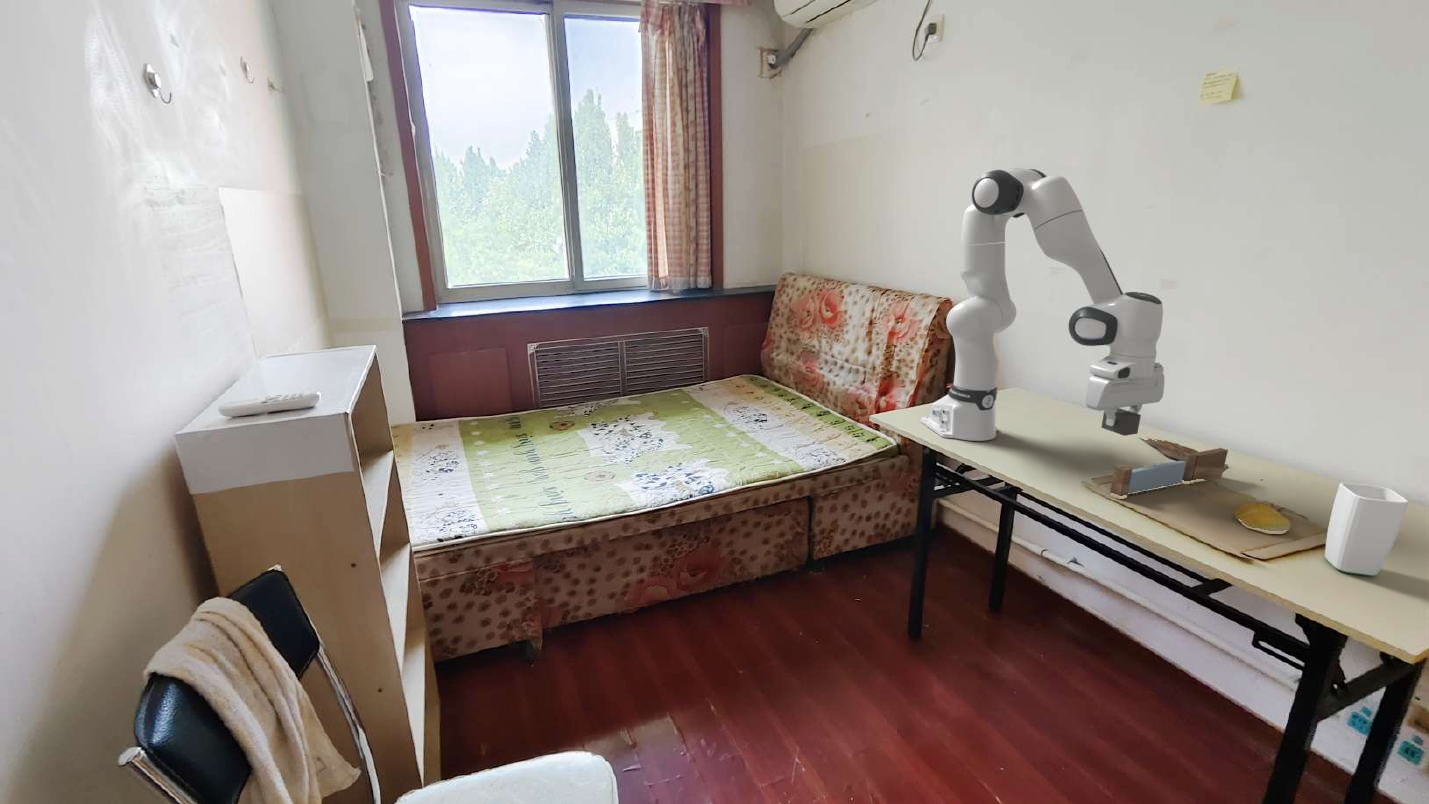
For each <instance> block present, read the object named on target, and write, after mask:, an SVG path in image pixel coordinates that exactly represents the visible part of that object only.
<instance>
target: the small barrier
mask: <svg viewBox="0 0 1429 804" xmlns="http://www.w3.org/2000/svg"><path fill="white" fill-rule="evenodd" d="M1228 451H1229V450H1228V449H1226V448H1222V447H1219V448H1213V449H1207V450H1203V451H1198V452H1196V453H1191V454H1186V457H1185V461H1184V462H1186V465H1185V470H1184V474H1183V479H1182V480H1184V481H1191V480H1196V479H1204V480H1208V481H1212V480H1217V479H1222V478H1223V473H1224V471H1223V469H1224V465H1225V464H1226V460H1227V457H1228ZM1132 470H1133V468H1131V467H1129V466H1127V465H1123V464H1121V465H1117V466H1116V465H1115V466H1114V469H1113V474H1112V479H1111V485H1110V490H1109V493H1110V492H1111V493H1114V494H1117V495H1119V496H1123V495H1128V491H1129V486H1130V480H1131V475H1132ZM1210 479H1211V480H1210ZM1128 496H1129V495H1128Z"/></svg>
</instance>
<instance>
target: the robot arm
mask: <svg viewBox="0 0 1429 804" xmlns="http://www.w3.org/2000/svg"><path fill="white" fill-rule="evenodd" d="M971 201H972V203H971V204H970V205H969V206H968V207H967V208H966V209H965V211H964V213H963V218H962V221H961V222H962V223H961V230H960V239H959V241H960V243H959V244H960V245H959V247H960V250H959V252H960V254H959V255H960V259H959V260H960V261H959V263H960V266H959V267H960V268H959V270H960V271H959V273H960V277H961V279H962V280H963V282H964V284H965V285H966V289H967V293H968V298H969V299H966V300H965V299H964V300H962V301H961V302H959V303H957V304H956V305H955V306H954V307H952V308H951V309H950V311H949V312H948V313H947V315H946V320H945V324H946V328H947V330H948V332H949V334H950V335H951V337H952V341H953V344H954V351H955V365H954V367H955V368H954V376H953V383H947V384H946V385H947V386H946V388H947V389H949V391H948V393H947V394H946V395H944V396H943V397H941V398H940V399H937V400H936V401H934V402H933V403H932V404H931V407H930V410H929V415H925V416H922V417H921V418H920V423H922V424H923V425H924V426H926V427H927V428H929V429H930V430H932V431H933V432H935V433H936V434H937V435H939V436H940V437H942V438H946V439H949V438H950V439H958V440H962V441H971V442H972V441H973V442H982V441H990V440H994V439H995V438H996V437H997V431H998V426H997V425H996V409H997V408H996V403H995V402H996V401H997V395H998V387H997V380H998V371H999V363H1000V362H999V361H1000V360H999V358H998V356H997V355H996V352H995V345H994V337H995V335H996V334H1000V333H1002V332H1004V331H1005V330H1007V329H1008V328H1009V327H1010V326H1011V325H1012V324H1013V323H1014V321H1015V319H1016V316H1017V307H1016V305H1015V303H1014V302H1013V300H1012V299H1011V296H1010V292H1009V291H1010V290H1009V287H1008V282H1007V276H1006V226H1007V223H1008V221H1009V220H1010V219H1011V218H1013V219H1014V218H1015V219H1018V218H1021V217H1022V216H1024V215H1026V217H1027V218H1028V221H1029V222H1030V225H1031V228H1032V230H1033V234H1034V237H1035V239H1036V242H1037V244H1038V246H1039V247H1040V249H1041V251H1042V252H1043V254H1044V255H1045V256H1046V257H1047V258H1049V259H1051V260H1054V261H1056V262H1060V263H1061V264H1064V265H1066V266H1068V267H1069V268H1071V269H1073V270H1074V271H1075V272H1077V274H1078V275H1079V277H1080V278H1081V279H1082V282H1083V284H1084V285H1085V288H1086V290H1087V293H1088V294H1089V296H1090V299H1091V301H1092V302H1093V303H1092V304H1089V305H1086V306H1083V307H1080V308H1078V309H1076V310H1075V311H1074V312H1073V313H1072V315H1071V316H1070V319H1069V321H1068V331H1069V334H1070V337H1071V339H1073V341H1074V342H1075V343H1077V344H1079V345H1082V346H1087V347H1097V346H1098V347H1099V346H1107V347H1108V348H1109V355H1107V356H1105V357H1103V358H1102V359H1100V360H1099V361H1097V362H1094V363H1092V364H1091V365H1090V368H1089V374H1091V376H1090V377H1089V379H1088V382H1087V385H1086V389H1085V390H1086V391H1085V398H1084V404H1085V405H1086V407H1087V408H1088V409H1092V410H1096V411H1099V412H1100V411H1101V412H1102V411H1103V413H1104V412H1105V414H1106V417H1107V420H1106V424H1107V425H1109V426H1115V425H1117V424H1118V423H1117V422H1118V418H1116V417H1115V412H1117V408H1120V409H1122V408H1126V407H1127V408H1128V407H1129V409H1128V411H1130V412H1133V413H1136V414H1139V413H1140V411H1141V410H1142V407H1143V405H1147V404H1148V405H1149V404H1152V403H1160V401H1161V400H1162V399H1163V398H1164V397H1163V396H1164V393H1165V392H1164V391H1165V373H1164V367H1163V365H1162V364H1161V363H1160V362H1156V360H1157V359H1156V358H1157V343H1158V340H1159V339H1160V338H1161V337H1160V336H1161V332H1162V326H1163V316H1164V305H1163V302H1162V301H1161V300H1160V298H1158V297H1157V296H1155V295H1153V294H1149V293H1145V292H1138V291H1127V292H1123V290H1122V288H1121V287H1120V285H1119V282H1118V280H1117V279H1116V276H1115V274H1114V272H1113V270H1112V268H1111V265H1110V264H1109V262H1108V259H1107V257H1106V256H1105V254H1104V252H1103V250H1102V248H1101V247H1100V245H1099V243H1098V241H1097V239H1096V238H1095V236H1094V233H1093V232H1092V231H1093V230H1092V229H1091V227H1090V224H1089V221H1088V219H1087V217H1086V214H1085V211H1084V209H1083V207H1082V204H1081V202H1080V199H1079V197H1078V196H1077V193H1076V192H1075V190H1074V189H1073V187H1072V185H1071V184H1070V183H1069V181H1068V180H1067V179H1066V178H1065V177H1063V176H1060V175H1048V176H1047V175H1046V174H1045V173H1043V172H1042V171H1040V170H1037V169H1036V168H1035V169H1034V168H1028V169H1027V168H1021V167H1020V168H1017V167H1013V168H1007V169H996V170H994V169H993V170H991V171H988V172H986V173H983V174H982V175H981V176H980V177H978V178H977V180H976V181H975V183H974V184H973V186H972V190H971Z"/></svg>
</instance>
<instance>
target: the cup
mask: <svg viewBox="0 0 1429 804" xmlns="http://www.w3.org/2000/svg"><path fill="white" fill-rule="evenodd" d="M1409 502H1410V501H1408V500H1407V498H1405V497H1403V496H1402V495H1400V493H1397V492H1396V491H1394V490H1393V489H1391V488H1388V487H1384V486H1380V485H1374V484H1373V485H1372V484H1364V483H1363V484H1362V483H1354V482H1340V483H1339V484H1338V489H1337V492H1336V495H1335V499H1334V503H1333V506H1332V510H1331V513H1330V517H1329V522H1328V523H1329V524H1328V527H1327V534H1326V540H1325V549H1324V550H1325V551H1324V557H1325V559H1326V560H1327V561H1328V563H1330V564H1331V565H1332V566H1333V567H1334V568H1335V569H1336V570H1337V571H1340V572H1342V573H1345V574H1353V575H1359V576H1367V577H1371V576H1377V575H1379V574H1378V573H1379V572H1380V570H1381V569H1382V566H1384V563H1386V559H1387V558H1388V556H1389V554H1390V552H1391V550H1392V548H1393V546H1394V543H1395V541H1396V538H1397V537H1398V534H1399V532H1400V529H1401V526H1402V524H1403V520H1404V518H1405V515H1406V511H1407V510H1408V505H1409Z"/></svg>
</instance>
